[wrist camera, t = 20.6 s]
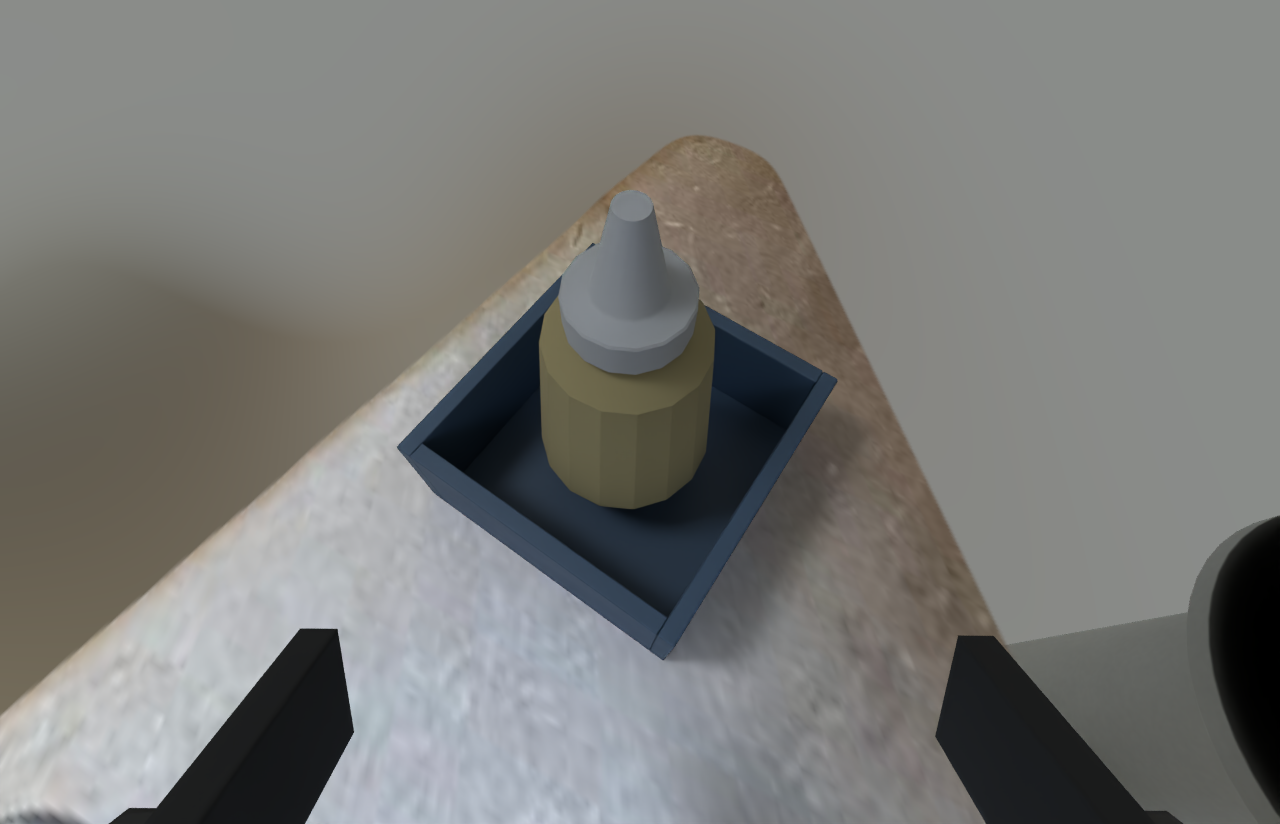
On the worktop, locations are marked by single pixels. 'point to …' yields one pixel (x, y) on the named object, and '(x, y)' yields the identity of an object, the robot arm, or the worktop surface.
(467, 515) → the bin
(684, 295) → the squeeze bottle
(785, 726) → the worktop surface
